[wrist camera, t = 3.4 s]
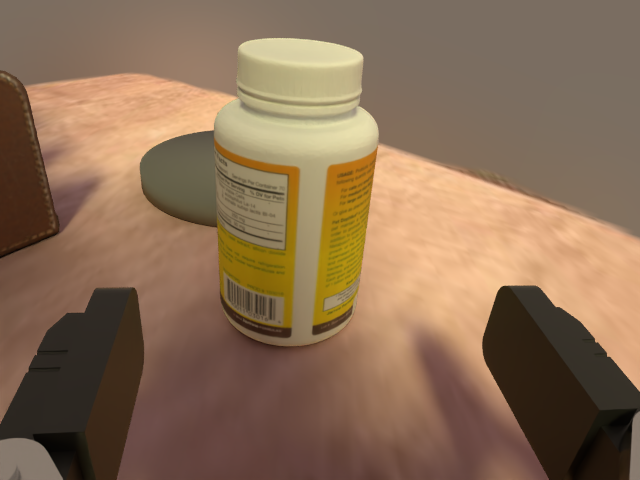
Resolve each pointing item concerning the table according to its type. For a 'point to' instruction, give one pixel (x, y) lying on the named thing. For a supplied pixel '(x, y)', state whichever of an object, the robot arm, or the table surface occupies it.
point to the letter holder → (21, 173)
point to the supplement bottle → (293, 190)
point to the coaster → (182, 177)
